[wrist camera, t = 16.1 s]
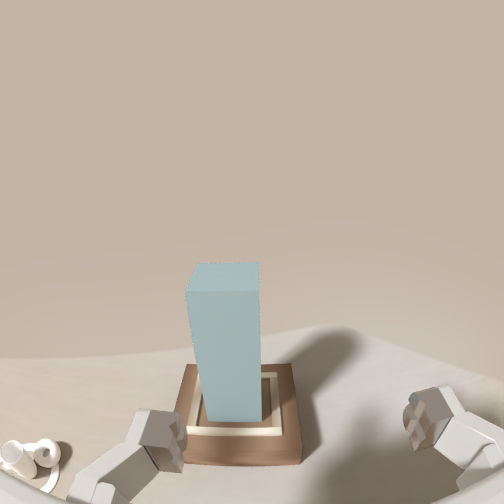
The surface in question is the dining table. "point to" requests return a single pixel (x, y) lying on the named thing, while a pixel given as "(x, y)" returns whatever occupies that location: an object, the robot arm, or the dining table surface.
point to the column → (227, 339)
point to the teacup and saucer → (23, 463)
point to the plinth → (243, 424)
